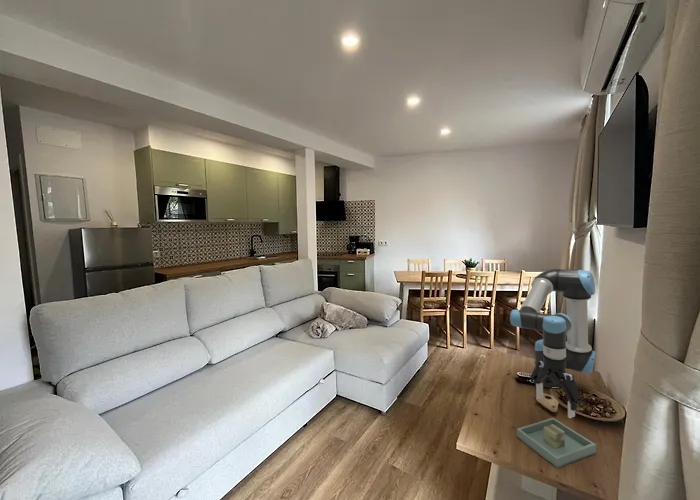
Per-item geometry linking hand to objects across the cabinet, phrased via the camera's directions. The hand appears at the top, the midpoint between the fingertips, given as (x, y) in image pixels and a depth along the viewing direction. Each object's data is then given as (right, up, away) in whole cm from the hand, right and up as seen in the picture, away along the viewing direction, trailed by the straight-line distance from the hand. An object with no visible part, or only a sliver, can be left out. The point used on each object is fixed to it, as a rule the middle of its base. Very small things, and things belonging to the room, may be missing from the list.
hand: (554, 407), depth 124 cm
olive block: (0, -15, +1) cm, 15 cm away
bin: (+1, -16, +1) cm, 16 cm away
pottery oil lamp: (+13, -13, +24) cm, 31 cm away
